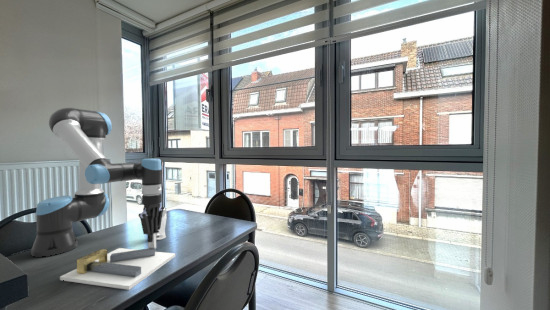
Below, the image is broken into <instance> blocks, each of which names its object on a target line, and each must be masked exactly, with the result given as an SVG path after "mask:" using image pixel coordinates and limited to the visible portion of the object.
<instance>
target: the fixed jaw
mask: <svg viewBox="0 0 550 310" xmlns="http://www.w3.org/2000/svg"><path fill="white" fill-rule="evenodd" d="M87 271H90V272H98V273H106V274H114V275H122V276H130V277H137V276H138V275H140V274H141V267H139V266H130V265H122V264H113V263H104V262H96V261H93V262H91V263H89V264H87Z"/></svg>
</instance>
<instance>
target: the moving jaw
mask: <svg viewBox="0 0 550 310" xmlns="http://www.w3.org/2000/svg"><path fill="white" fill-rule="evenodd" d="M155 252H156V248H155V247H154V248H143V249H134V251H127V252H121V253H114V254H111V256H110V263H111V262H117V261H123V260H129V259H135V258H142V257H148V256H154V255H155Z"/></svg>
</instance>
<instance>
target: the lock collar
mask: <svg viewBox="0 0 550 310" xmlns="http://www.w3.org/2000/svg"><path fill="white" fill-rule="evenodd" d="M107 254H108V249H106V248H104V249H103V248H100V249H97V250H96V251H93V252H91V253H88V254H86V255H84V256H82V257H80V258H78V259H76V269H77V273H82V274H85V273H86V272H87V264H89V263H91V262H93V261H95V260H97V259H99V262H104V263H106V262H107Z"/></svg>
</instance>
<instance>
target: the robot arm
mask: <svg viewBox="0 0 550 310" xmlns="http://www.w3.org/2000/svg"><path fill="white" fill-rule="evenodd" d="M48 126H49V129H50V131H51V132H52V133H53V135H54V136H55V137H57V138H60V139H62V141H63V143H65V144H66V146H67V147H68V148H69V149H70V151H71V152H72V153H74V155H75V156H76V157H77V159H78V160H79V161H78V163H79V164H78V166H79V167H78V173H79V174H78V189H77V190H76V191H75V192H74V196H71V195H61V196H54V197H50V198H46V199H44V200H41V201H39V202H38V203H37V205H36V210H35V215H36V216H35V218H36V237H35V240H34V242H33V245H32V247H31V250H30V255H32V256H31V257H33V256H35V257H34V258H43V257H42V256H46V257H51V256H50V255H52V256H56V255H55V254H57V255H61V254H63V252H64V253H66V252H70V251H72V250H74V249H75V248H77V247H78V239H77V237H76V234H75V232H74V229H73V223H77V222H81V221H86V220H89V219H95V218H98V217H100V216H103V215H105V214H106V213H107V211H108V210H109V207H110V199H109V196H108V194H106V193H105V191H104V189H103V188H101V185H104V184H108V183H116V182H118V183H119V182H125V181H134V180H136V181H137V180H139V181H141V194H142V196H141V204H142V205H143V208H142V210H143V211H142V212H141V213H138V217H139V219H140V223H141V228H142V233H143V235H147V245H148V248H154V247H155V249H157V240H156V239H157V233H158V232H159V231H158V230H160V227H161V221H162V214H163V210H164V208H165V206H161V203H162V201H163V198H162V196H163V195H162V173H163V171H162V169H163V167H162V160H161V159H160V158H143V159H141V162H135V161H133V162H131V161H130V162H123V163H122V162H120V163H111V162H110V160H109V159H108V158H107V157H106V156H105V155H104V153H102V148H103V145H102V144H103V143H102V142H103V141H104V140H106V138H107V137H106V136H108V135H110V134H111V131H112V127H113V126H112V121H111V119H110V118H109V115H107V114H106V113H104V112H100V111H97V110H89V109H88V110H87V109H80V108H74V107H64V108H63V107H62V108H60V109H57V110H55V111H54V112H53V113H51V115H50V116H49V119H48ZM148 248H147V249H148ZM60 253H61V254H60Z"/></svg>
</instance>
